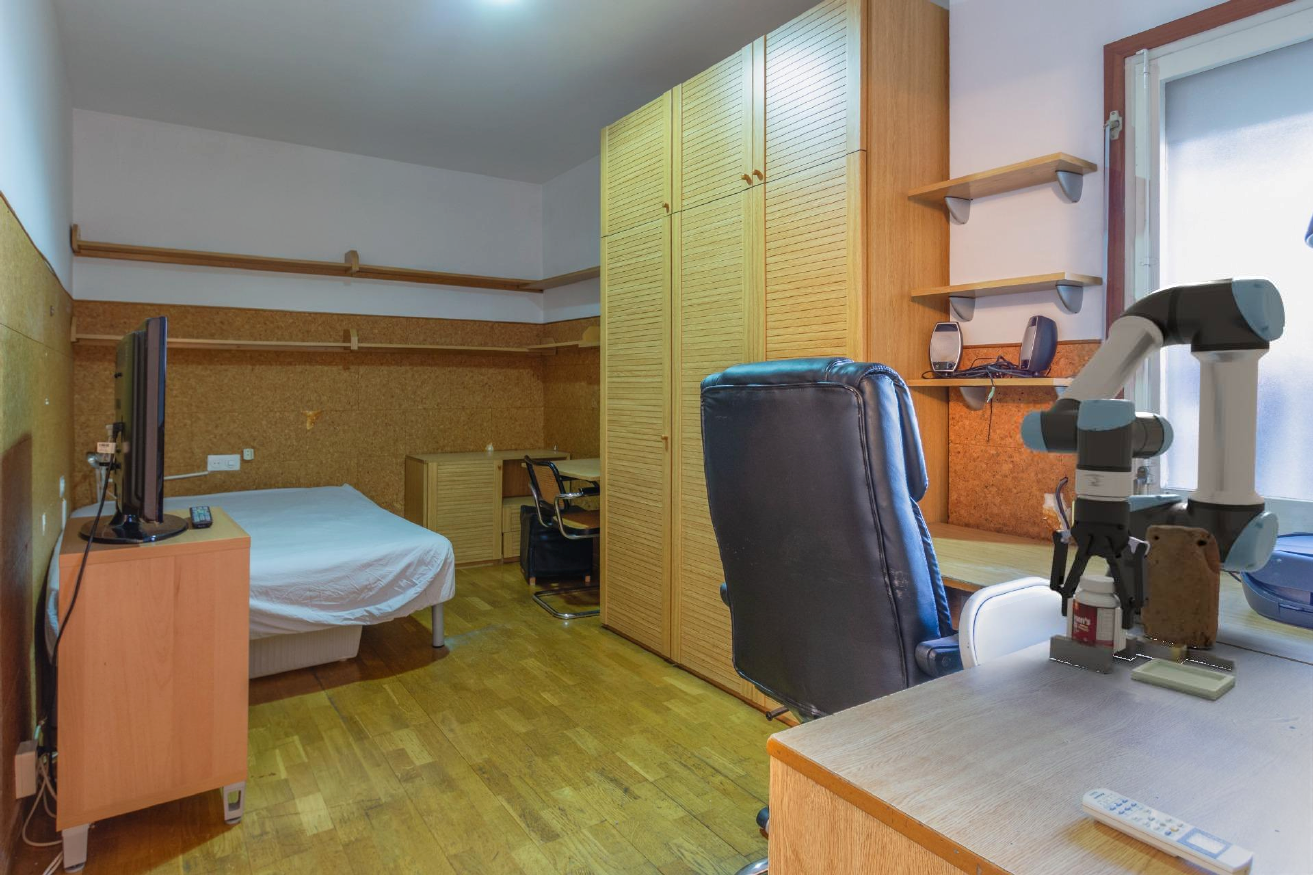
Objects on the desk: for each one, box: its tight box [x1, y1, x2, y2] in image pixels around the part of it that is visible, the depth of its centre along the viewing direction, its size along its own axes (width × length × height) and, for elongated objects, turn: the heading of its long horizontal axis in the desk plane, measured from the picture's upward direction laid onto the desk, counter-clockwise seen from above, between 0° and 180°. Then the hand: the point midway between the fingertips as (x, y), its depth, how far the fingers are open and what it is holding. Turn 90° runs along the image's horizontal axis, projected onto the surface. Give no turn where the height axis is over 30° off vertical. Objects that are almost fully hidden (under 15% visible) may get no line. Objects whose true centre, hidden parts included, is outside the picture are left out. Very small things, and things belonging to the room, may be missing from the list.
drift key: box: [1126, 632, 1188, 664], centre depth 120 cm, size 3×9×3 cm, turn 40°
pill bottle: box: [1073, 574, 1120, 654], centre depth 118 cm, size 6×6×11 cm
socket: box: [1049, 633, 1137, 674], centre depth 118 cm, size 12×8×4 cm, turn 130°
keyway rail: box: [1186, 648, 1236, 671], centre depth 120 cm, size 1×15×2 cm, turn 39°
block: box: [1140, 525, 1221, 649], centre depth 128 cm, size 11×8×20 cm
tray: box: [1131, 658, 1236, 701], centre depth 108 cm, size 10×10×1 cm
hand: (1095, 642), depth 118 cm, fingers closed on pill bottle, 6 cm apart
